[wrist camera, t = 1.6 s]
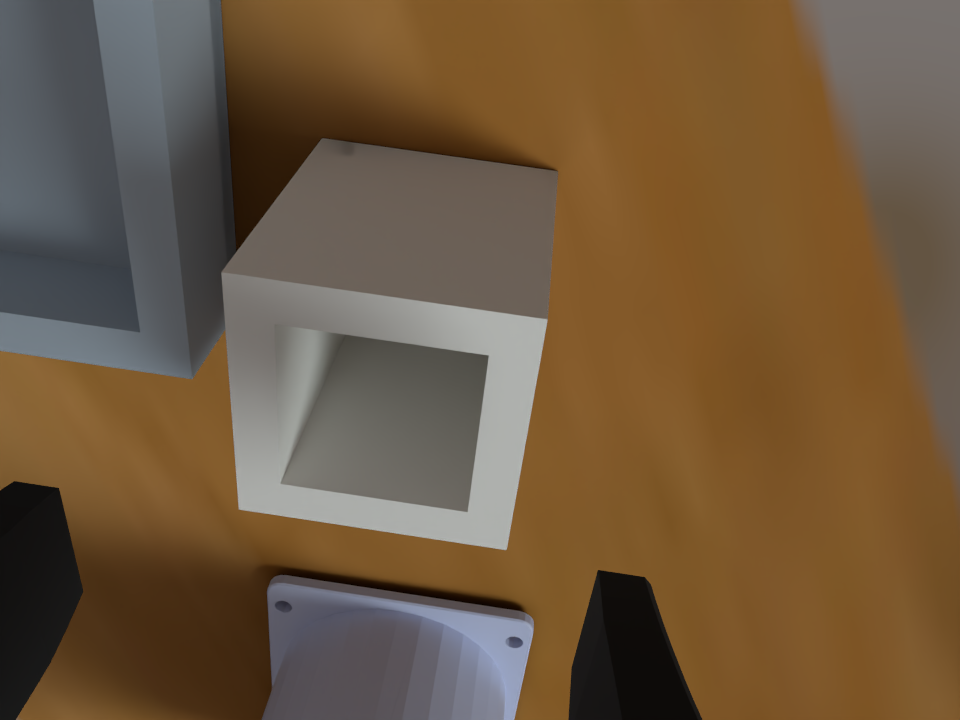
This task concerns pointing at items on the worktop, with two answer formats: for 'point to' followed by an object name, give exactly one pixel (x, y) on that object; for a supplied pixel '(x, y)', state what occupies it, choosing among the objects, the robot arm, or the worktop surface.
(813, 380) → the worktop surface
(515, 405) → the box
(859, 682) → the worktop surface
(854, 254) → the worktop surface
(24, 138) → the big crate
